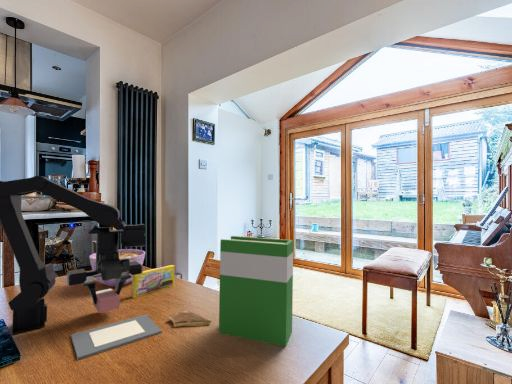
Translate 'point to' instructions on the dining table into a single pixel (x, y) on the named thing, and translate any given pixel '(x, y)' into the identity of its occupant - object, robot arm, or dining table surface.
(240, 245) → the green cereal box
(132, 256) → the bowl of food
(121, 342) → the mat
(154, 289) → the candy box
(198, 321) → the shard
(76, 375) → the dining table surface
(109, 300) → the pink and white block
